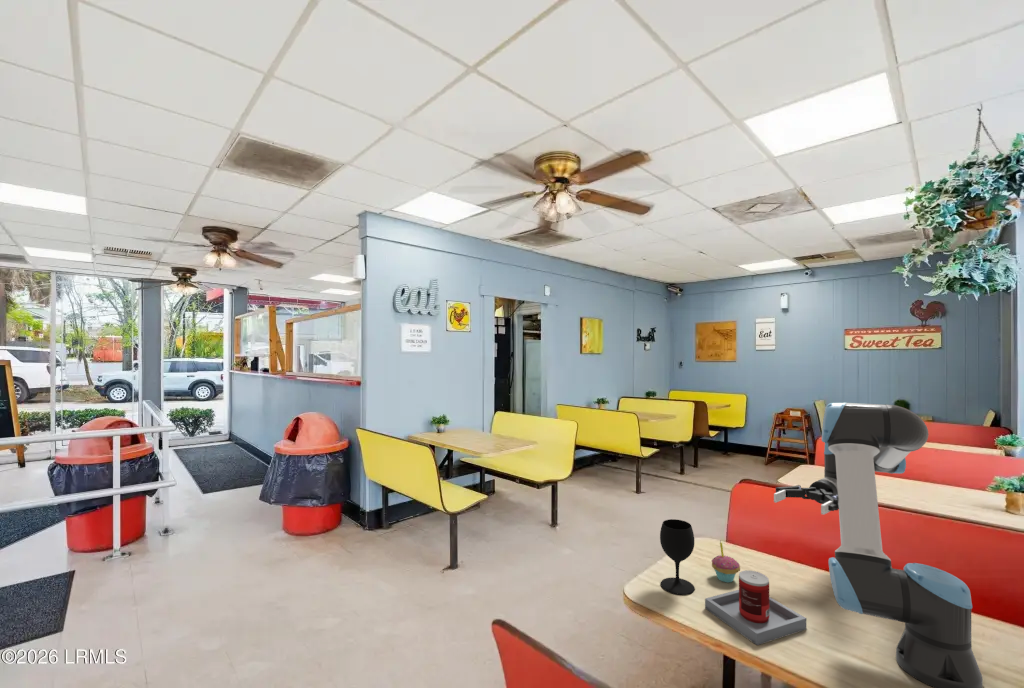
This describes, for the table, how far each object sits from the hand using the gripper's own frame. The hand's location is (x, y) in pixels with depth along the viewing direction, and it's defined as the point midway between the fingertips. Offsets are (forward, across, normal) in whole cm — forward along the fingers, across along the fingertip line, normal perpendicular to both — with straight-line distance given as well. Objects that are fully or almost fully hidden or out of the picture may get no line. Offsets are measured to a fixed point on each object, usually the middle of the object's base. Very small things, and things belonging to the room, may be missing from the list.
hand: (797, 503), depth 147 cm
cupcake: (+10, +18, -28) cm, 35 cm away
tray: (+25, +2, -28) cm, 37 cm away
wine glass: (+26, +25, -28) cm, 46 cm away
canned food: (+24, +2, -27) cm, 37 cm away
